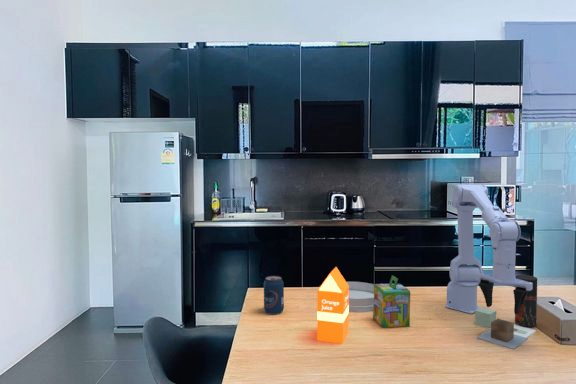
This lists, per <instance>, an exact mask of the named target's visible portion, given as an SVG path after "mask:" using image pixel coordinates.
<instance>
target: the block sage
mask: <svg viewBox="0 0 576 384" xmlns="http://www.w3.org/2000/svg"><path fill="white" fill-rule="evenodd" d="M474 313H475V315H474V324H475V325H476V326H480V327H484V328H487V329H491V322H492V321H494V320H496V319H497V310H493V309H489V308H485V307H481V308H480V309H478V310H476V311H475V312H474Z"/></svg>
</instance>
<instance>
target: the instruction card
mask: <svg viewBox="0 0 576 384" xmlns="http://www.w3.org/2000/svg"><path fill="white" fill-rule="evenodd" d="M536 332H537V330H536V329H533V328H526V327H521V326H518V325H516V324H514V335H518V336H522V337H525V338H528V337H530V336H532V335H533V334H534V333H536Z"/></svg>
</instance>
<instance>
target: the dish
mask: <svg viewBox="0 0 576 384" xmlns="http://www.w3.org/2000/svg"><path fill="white" fill-rule="evenodd" d="M346 282H347V284H348V285H349V313H370V312H373V307H374V283H370V282H369V283H368V282H363V281H362V282H361V281H346Z"/></svg>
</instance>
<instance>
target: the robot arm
mask: <svg viewBox="0 0 576 384" xmlns="http://www.w3.org/2000/svg"><path fill="white" fill-rule="evenodd" d="M452 207H453V208H455V209H456V212H457V241H458V242H457V243H458V245H457V246H458V255H457V256H455V257H454V258H453V259H452V260H450V266H449V267H450V268H449V278H450V279H449V280H450V281H449V282H448V284H447V287H446V305H445V308H448V309H452V310H455V311H459V312H463V313H467V314H469V315H470V314H471V315H472V314H473V313H475V311H476V310H478V309H480V308H482V307H481V306H478V287H479V288H480V290H481V292H482V295H483V297H484V301H485V305H486V307H487V308H490V307H492V306H493V291H494V284H495V285H496V284H497V285H502V286H507V287H513V288H514V289H513V292H512V293H513V297H514V308H513V309H514V310H513V312H514V315H515V314H518V313H520V309H521V306H522V303H523V301H524V299H525V297H526V295H527V294H528V292H529V291H531V290H532V289H533V283H531V282H527V281H523V280H520V279H516V258H517V257H516V252H517V247H516V246H517V242H518V241H519V240H520V238H521V234H522V232H521V230H522V229H521V227H520V224H519V222H518V221H516V220H512V219H509V218H508V216H507V215H506V214H505V213H504V212H503V211H502V209H501V208H500V207H499V206H498V205H493V203H492V201H491V200H490V198H489V189H488V187H487V186H486V185H485V184H484V183H481V184H459V183H457V184H456V185H455V186H454V187H453V190H452ZM477 208H478V209H479V211H481V219H482V220H483V222H484V223H485V224H486V226H487V227H488V229H489V230H488V231H489V237H490V239H491V240H490V243H491V247H492V251H493V252H492V274H491V273H484V271H483V267H482V262H481V260H479V259H478V258H477V257H475V253H474V252H475V249H474V248H475V247H474V242H475V241H474V224H473V223H474V220H473V219H474V216H473V214H474V211H475V209H477ZM515 287H516V288H517V289H515Z"/></svg>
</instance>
